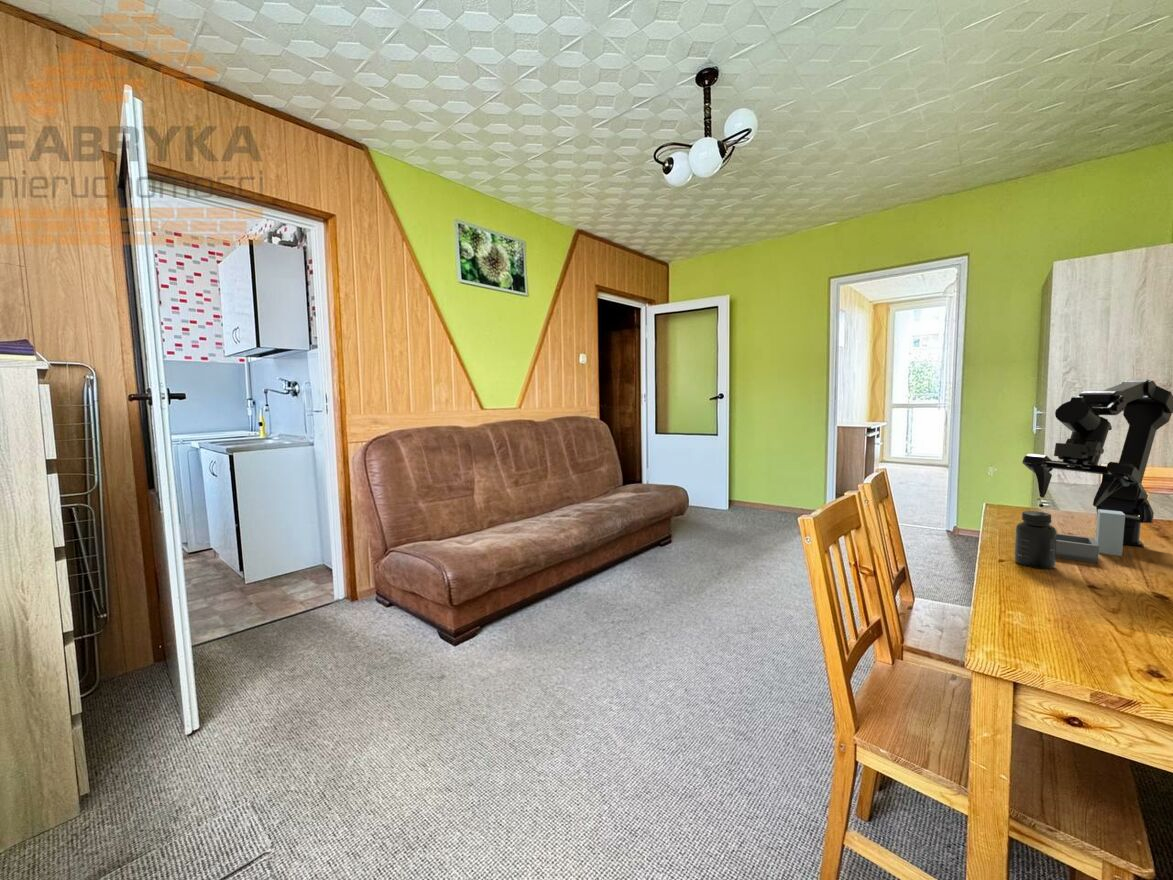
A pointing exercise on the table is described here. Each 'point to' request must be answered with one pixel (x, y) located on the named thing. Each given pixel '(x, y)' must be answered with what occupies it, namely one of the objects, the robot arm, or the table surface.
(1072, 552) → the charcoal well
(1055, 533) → the supplement bottle
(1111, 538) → the blue-grey block
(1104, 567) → the table surface
